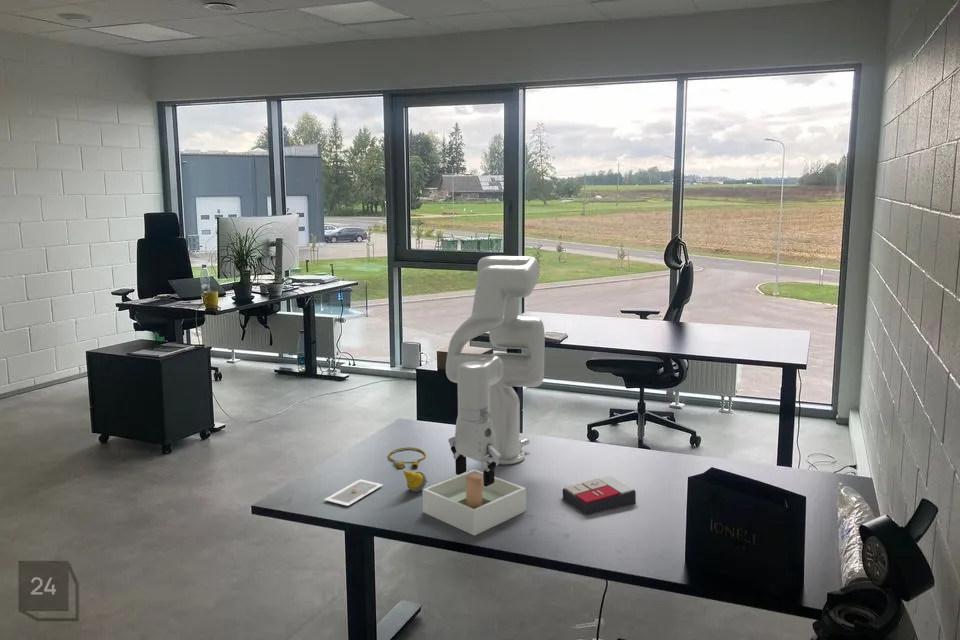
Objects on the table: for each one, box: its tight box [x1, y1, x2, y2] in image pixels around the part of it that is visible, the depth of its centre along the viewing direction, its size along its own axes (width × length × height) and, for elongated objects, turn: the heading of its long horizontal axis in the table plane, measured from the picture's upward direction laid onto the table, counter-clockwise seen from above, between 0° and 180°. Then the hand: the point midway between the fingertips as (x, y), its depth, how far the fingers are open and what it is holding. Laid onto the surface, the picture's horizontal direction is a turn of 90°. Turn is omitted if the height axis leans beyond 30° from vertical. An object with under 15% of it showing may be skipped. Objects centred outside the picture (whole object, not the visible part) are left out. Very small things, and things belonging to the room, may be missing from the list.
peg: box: [466, 474, 483, 509], centre depth 181 cm, size 4×4×9 cm
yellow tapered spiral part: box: [403, 470, 428, 493], centre depth 194 cm, size 5×5×10 cm
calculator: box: [562, 475, 637, 516], centre depth 187 cm, size 11×4×15 cm
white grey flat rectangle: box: [323, 478, 384, 507], centre depth 193 cm, size 8×15×2 cm, turn 151°
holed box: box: [422, 469, 527, 536], centre depth 181 cm, size 18×18×6 cm
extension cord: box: [386, 447, 427, 470], centre depth 218 cm, size 12×16×2 cm
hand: (474, 478), depth 181 cm, fingers open, 9 cm apart
